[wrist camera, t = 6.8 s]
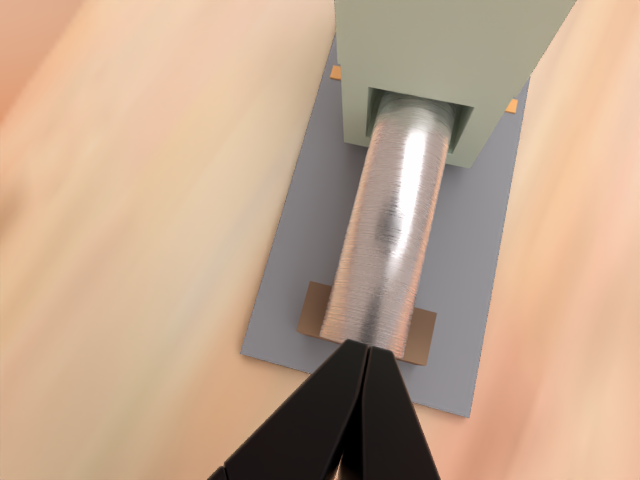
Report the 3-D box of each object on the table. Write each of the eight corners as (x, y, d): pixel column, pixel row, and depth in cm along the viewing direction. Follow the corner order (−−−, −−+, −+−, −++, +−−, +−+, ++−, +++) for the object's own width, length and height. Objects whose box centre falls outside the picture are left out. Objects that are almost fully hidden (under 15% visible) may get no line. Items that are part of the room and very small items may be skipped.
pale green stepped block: (472, 169, 21) (594, -28, 10) (342, 141, 21) (330, -68, 11) (487, 91, 21) (614, -163, 11) (362, 67, 22) (369, -190, 12)
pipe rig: (465, 416, 19) (514, 440, 14) (243, 353, 21) (199, 351, 15) (539, 7, 24) (598, -107, 18) (354, -23, 26) (354, -138, 20)
